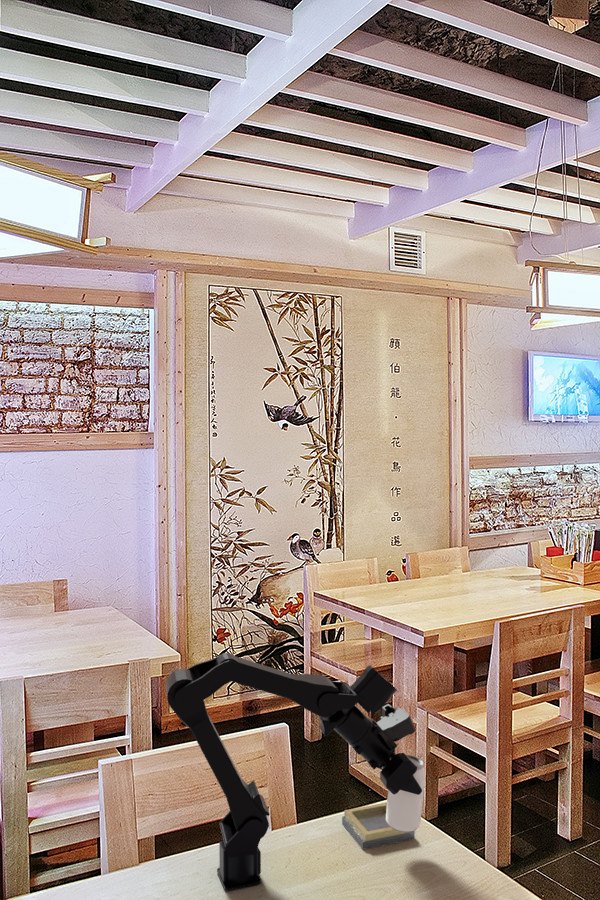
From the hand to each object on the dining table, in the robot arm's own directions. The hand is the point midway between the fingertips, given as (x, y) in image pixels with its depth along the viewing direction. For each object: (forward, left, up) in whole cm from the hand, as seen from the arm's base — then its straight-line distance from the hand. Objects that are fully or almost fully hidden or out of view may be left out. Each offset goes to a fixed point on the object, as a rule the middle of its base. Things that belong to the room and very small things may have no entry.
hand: (414, 785), depth 141 cm
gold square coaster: (-3, +10, -13) cm, 17 cm away
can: (-2, +1, -8) cm, 8 cm away
